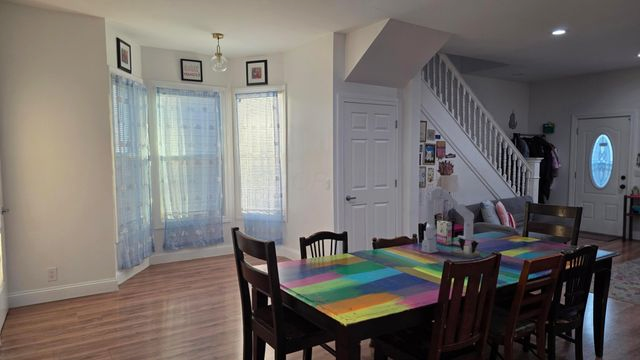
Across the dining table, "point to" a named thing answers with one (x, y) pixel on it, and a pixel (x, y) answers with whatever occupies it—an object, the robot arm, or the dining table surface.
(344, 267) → the dining table surface
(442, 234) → the candy bar box
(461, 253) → the power strip
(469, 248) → the charger
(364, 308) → the dining table surface
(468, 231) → the robot arm
